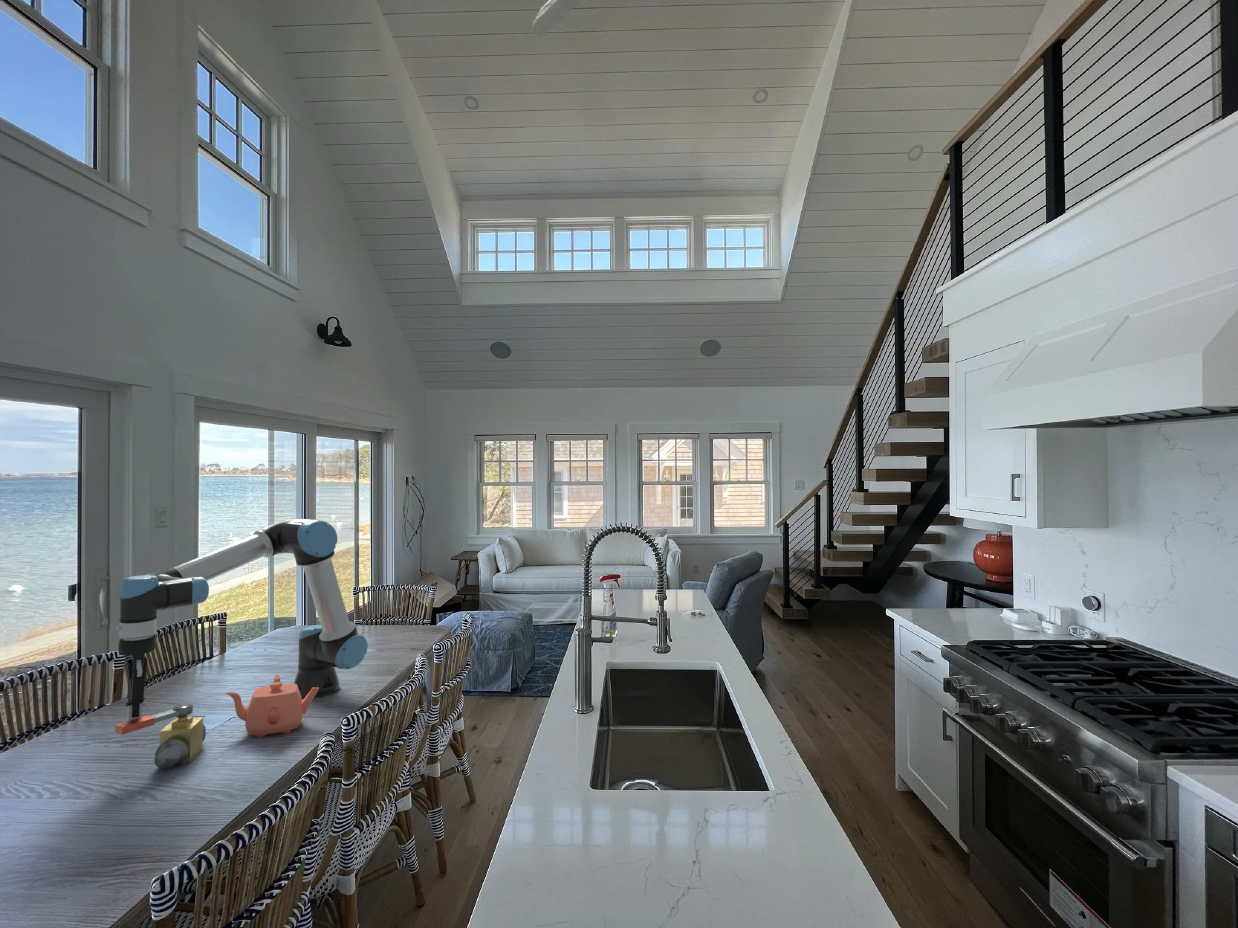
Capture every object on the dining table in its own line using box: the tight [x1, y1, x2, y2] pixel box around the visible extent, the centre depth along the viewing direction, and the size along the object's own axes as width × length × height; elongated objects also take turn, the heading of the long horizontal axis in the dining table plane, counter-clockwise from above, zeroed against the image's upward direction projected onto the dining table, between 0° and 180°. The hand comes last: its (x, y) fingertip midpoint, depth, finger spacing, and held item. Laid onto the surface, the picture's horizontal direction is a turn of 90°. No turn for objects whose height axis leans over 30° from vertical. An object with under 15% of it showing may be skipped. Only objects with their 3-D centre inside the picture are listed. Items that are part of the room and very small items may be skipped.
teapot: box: [225, 674, 319, 738], centre depth 181 cm, size 18×18×14 cm
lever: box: [114, 703, 194, 736], centre depth 156 cm, size 17×4×2 cm, turn 154°
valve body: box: [153, 715, 207, 770], centre depth 161 cm, size 18×7×12 cm, turn 15°
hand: (134, 728), depth 154 cm, fingers closed
